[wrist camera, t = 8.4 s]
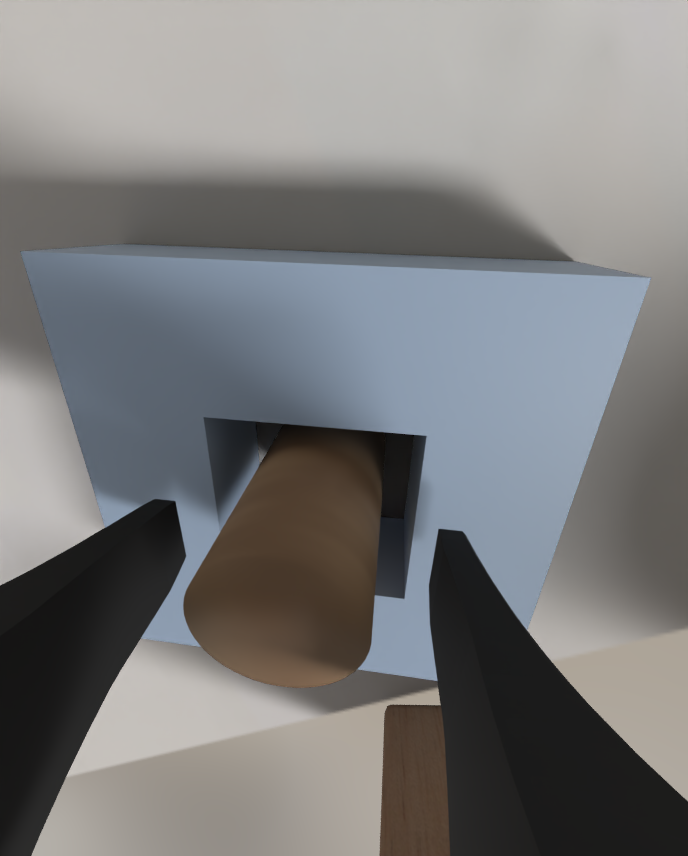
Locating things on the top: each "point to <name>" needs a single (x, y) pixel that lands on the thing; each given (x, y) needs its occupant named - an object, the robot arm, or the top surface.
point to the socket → (341, 395)
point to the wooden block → (414, 783)
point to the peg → (296, 562)
